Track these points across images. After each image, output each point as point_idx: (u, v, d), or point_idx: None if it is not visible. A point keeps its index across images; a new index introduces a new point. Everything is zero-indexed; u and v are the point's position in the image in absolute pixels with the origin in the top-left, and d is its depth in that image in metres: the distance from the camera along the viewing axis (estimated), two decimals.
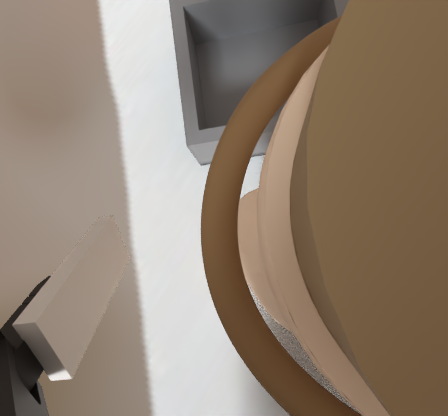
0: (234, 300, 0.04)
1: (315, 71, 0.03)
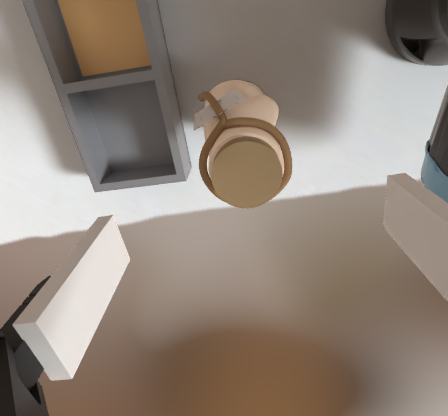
0: None
1: None
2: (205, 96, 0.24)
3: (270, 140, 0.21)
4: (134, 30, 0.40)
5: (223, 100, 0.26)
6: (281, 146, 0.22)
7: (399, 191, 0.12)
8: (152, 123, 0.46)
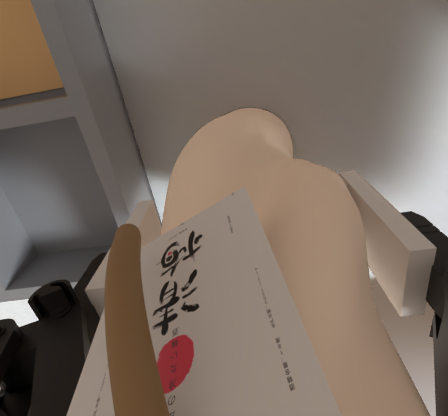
0: None
1: None
2: (105, 313, 0.04)
3: None
4: None
5: (207, 262, 0.06)
6: None
7: None
8: (95, 181, 0.27)
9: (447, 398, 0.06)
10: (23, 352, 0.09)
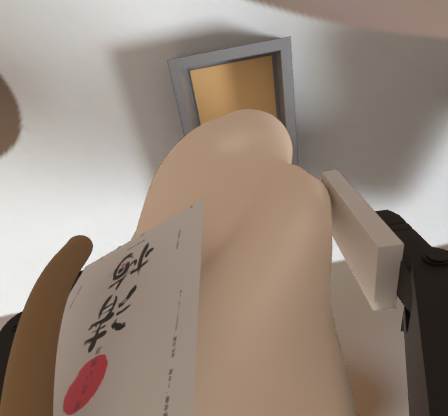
0: None
1: None
2: None
3: None
4: None
5: (146, 278, 0.06)
6: None
7: (328, 185, 0.14)
8: None
9: (417, 391, 0.07)
10: None
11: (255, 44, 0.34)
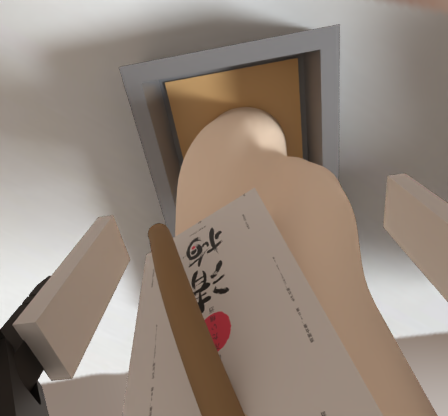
0: None
1: None
2: (162, 295, 0.06)
3: None
4: None
5: (229, 254, 0.08)
6: None
7: (399, 191, 0.12)
8: None
9: None
10: None
11: (275, 39, 0.19)
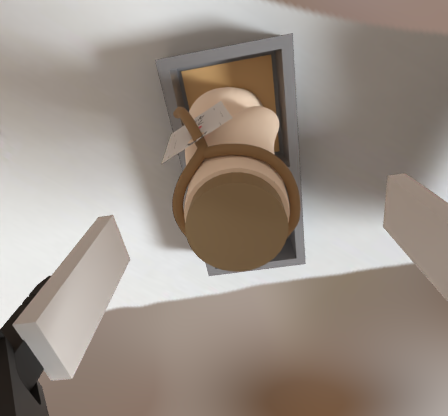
0: None
1: None
2: (179, 114, 0.17)
3: (269, 176, 0.14)
4: None
5: (205, 117, 0.19)
6: (285, 181, 0.16)
7: (399, 191, 0.12)
8: None
9: None
10: None
11: (253, 42, 0.31)
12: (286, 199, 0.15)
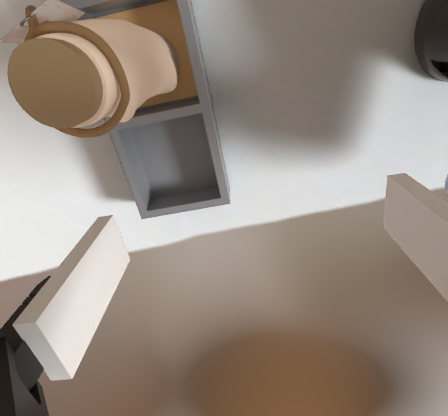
0: (101, 129, 0.21)
1: None
2: None
3: (79, 43, 0.18)
4: None
5: (62, 20, 0.22)
6: (106, 55, 0.19)
7: (399, 191, 0.12)
8: (193, 150, 0.48)
9: None
10: None
11: None
12: (99, 64, 0.18)
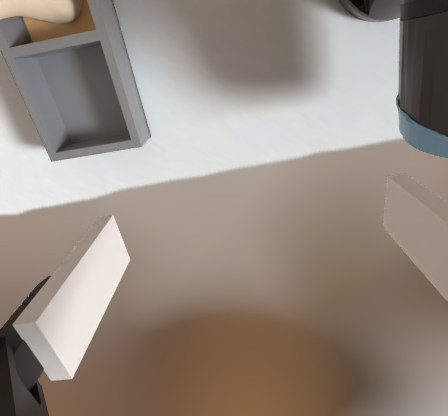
0: None
1: None
2: None
3: None
4: None
5: None
6: None
7: (399, 191, 0.12)
8: (107, 91, 0.46)
9: None
10: None
11: None
12: None
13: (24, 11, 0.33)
